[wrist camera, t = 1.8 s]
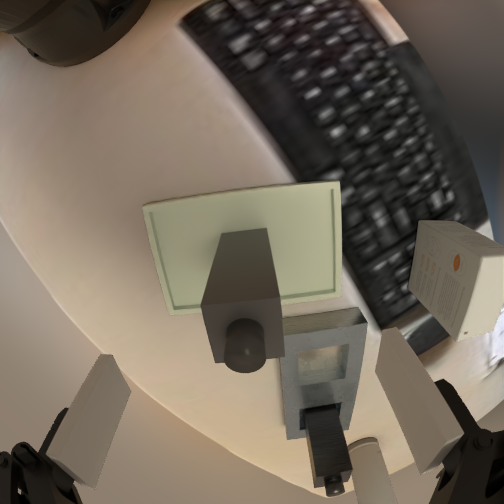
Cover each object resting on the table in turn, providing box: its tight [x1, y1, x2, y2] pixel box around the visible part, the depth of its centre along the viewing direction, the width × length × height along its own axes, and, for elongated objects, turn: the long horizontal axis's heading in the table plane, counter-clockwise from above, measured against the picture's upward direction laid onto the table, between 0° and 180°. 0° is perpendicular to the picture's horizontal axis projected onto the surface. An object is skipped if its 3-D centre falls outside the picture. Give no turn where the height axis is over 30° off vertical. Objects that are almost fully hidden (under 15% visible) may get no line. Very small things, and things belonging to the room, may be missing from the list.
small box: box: [408, 220, 504, 342], centre depth 22 cm, size 8×6×10 cm
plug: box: [200, 228, 285, 373], centre depth 19 cm, size 4×4×14 cm
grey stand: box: [280, 307, 368, 497], centre depth 26 cm, size 20×9×15 cm, turn 7°
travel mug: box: [348, 438, 398, 504], centre depth 31 cm, size 6×7×20 cm
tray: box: [142, 180, 342, 315], centre depth 26 cm, size 11×17×1 cm, turn 97°
